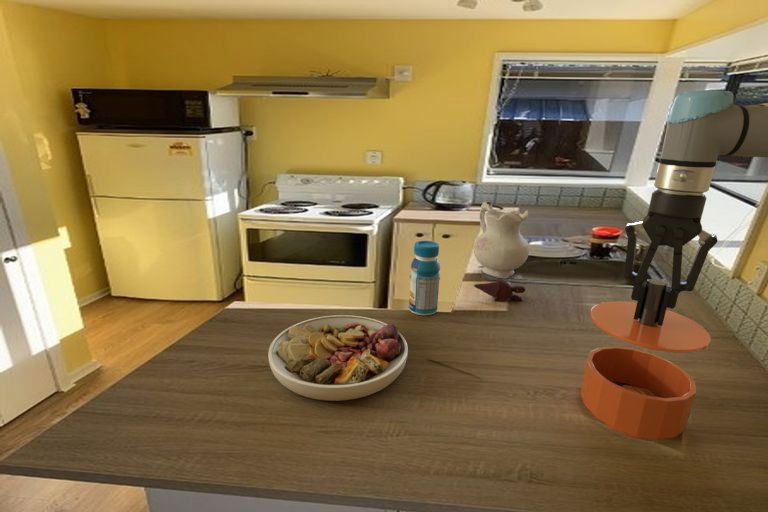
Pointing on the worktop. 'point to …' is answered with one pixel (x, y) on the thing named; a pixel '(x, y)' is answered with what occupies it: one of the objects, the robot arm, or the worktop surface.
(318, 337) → the bowl
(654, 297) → the pot lid
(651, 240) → the robot arm
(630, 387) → the pastry
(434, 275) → the beverage bottle
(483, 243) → the ceramic pitcher
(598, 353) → the pot
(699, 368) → the worktop surface
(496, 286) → the icecream
